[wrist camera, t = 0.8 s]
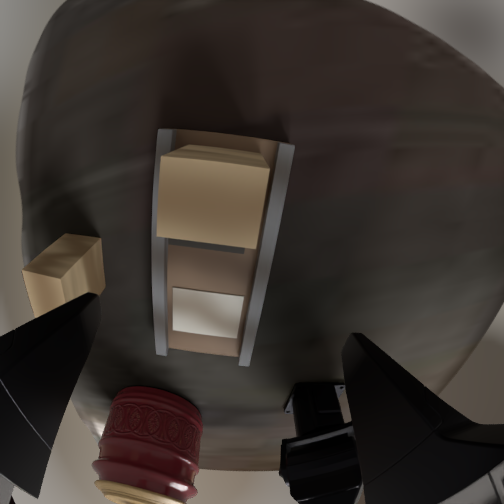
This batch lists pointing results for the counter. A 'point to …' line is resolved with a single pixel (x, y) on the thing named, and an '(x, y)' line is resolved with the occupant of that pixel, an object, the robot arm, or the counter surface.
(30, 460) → the robot arm
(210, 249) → the slider rail with block
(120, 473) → the canister
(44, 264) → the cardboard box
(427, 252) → the counter surface
